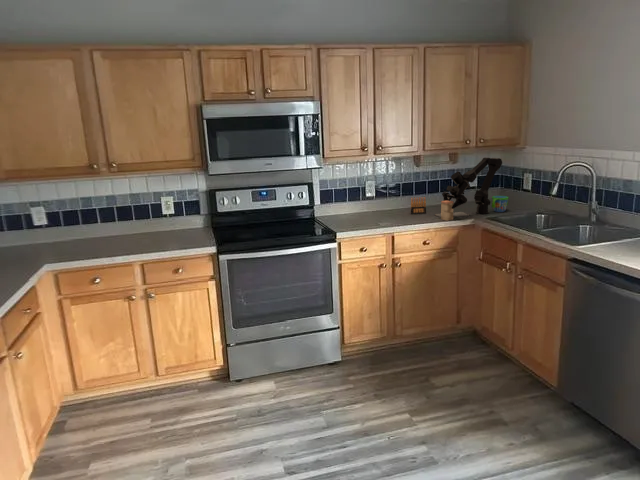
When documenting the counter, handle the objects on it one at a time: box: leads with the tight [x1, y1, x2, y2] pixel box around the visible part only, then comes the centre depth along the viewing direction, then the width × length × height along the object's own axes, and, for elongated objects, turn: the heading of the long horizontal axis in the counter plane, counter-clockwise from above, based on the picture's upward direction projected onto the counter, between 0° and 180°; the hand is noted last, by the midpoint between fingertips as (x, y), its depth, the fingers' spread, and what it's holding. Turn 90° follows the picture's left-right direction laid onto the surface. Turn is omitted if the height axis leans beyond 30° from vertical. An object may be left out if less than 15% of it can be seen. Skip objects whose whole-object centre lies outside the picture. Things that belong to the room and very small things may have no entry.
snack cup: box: [491, 195, 509, 213], centre depth 352 cm, size 16×10×10 cm
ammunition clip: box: [410, 196, 427, 215], centre depth 355 cm, size 11×2×12 cm, turn 88°
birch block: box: [440, 200, 455, 222], centre depth 333 cm, size 6×6×12 cm
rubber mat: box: [434, 211, 470, 219], centre depth 345 cm, size 20×11×1 cm, turn 101°
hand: (447, 207), depth 333 cm, fingers open, 9 cm apart
